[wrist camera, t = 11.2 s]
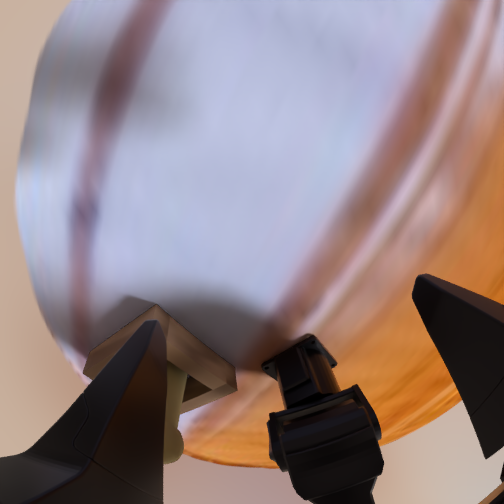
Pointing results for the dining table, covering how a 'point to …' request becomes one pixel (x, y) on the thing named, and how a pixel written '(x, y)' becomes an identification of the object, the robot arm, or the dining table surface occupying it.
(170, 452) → the cork
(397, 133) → the dining table surface
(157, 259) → the dining table surface
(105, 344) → the socket block
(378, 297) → the dining table surface
